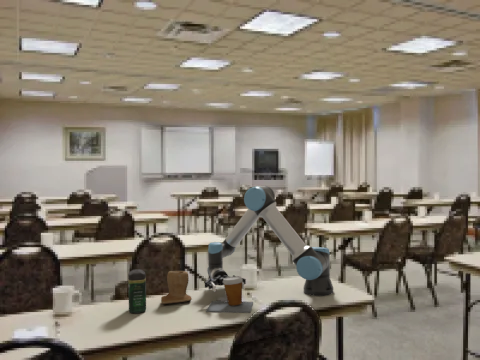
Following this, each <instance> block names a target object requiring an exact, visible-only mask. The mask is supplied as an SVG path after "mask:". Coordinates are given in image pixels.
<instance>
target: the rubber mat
mask: <svg viewBox="0 0 480 360" xmlns="http://www.w3.org/2000/svg"><path fill="white" fill-rule="evenodd" d="M253 305H254V301H242V303H241V304H239V305H229V304H228V300H227V301H226V300H211V302H210V303H209V305H208V306H207V309H206V310H205V312H206V313H243V314H245V313H246V314H248V313H249V314H251V312H252V308H253Z"/></svg>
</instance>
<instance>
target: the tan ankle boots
mask: <svg viewBox="0 0 480 360" xmlns="http://www.w3.org/2000/svg"><path fill="white" fill-rule="evenodd" d="M189 281H190V280H189V273H188V271H185V270H173V271H172V270H171V271H168V273H167V277H166V282H167V287H168V294H166V295H162V296H161V299H160V301H161V305H169V304H177V303H184V302H185V303H186V302H189V301H192V296H190V295H188V294H187V288H188V285H189Z"/></svg>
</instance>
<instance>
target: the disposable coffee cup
mask: <svg viewBox="0 0 480 360" xmlns="http://www.w3.org/2000/svg"><path fill="white" fill-rule="evenodd" d="M232 276H233V275H232ZM232 276H230V277H227V278H224V279H223V284H224V285H223V286H224V291H225V295H226V299H227V301H228V304H229V305H239V304H241V303H242V302H243V289H242V280H243V279H242V278H243V277H242V276H238V275H235V276H233V277H232Z"/></svg>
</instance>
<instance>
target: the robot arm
mask: <svg viewBox="0 0 480 360" xmlns="http://www.w3.org/2000/svg"><path fill="white" fill-rule="evenodd" d="M243 197H244V198H243V202H244V205H245V206H246V208H247V210H246V211H245V213H244V214H243V215H242V216H241V217H240V219H239V220H238V222H237V223H236V224H235V225H234V227H233V228H232V229H231V231H230V232H229V233H228V235H227V236H226V237H225V239H224V240H223V241H222V242H219V241H217V242H216V241H214V242H209V244H208V249H207V254H208V258H207V259H208V267H207V274H208V276H209V277H208V278H207V279H206V280H205V282H204V288H205V289H207V288H208V290H212V291H213V292H216V286H220V287H221V286H224V284H223V279H224V278H227V277H233V276H236V275H232V276H230V275H229V274H228V273H227V272H226V271H225V270H224V267H223V262H224V261H223V260H224V258H225V257H229V256H231V255H232V254H234V252H235V250H236V248H237V246H238V245H239V243H241V241H242V240H243V239H244V237H245V236H246V235H247V233H248V232H249V231H250V230H251V228H252V227H253V226H254V225H255V223H256V222H257V221H258V220H259V218H263V220H264V222H266V224H267V225H268V226H269V228H270V229H271V230H272V232H273V233H274V234H275V236H277V238H278V239H279V241H280V242H281V243H282V244H283V246H285V248H286V250H287V251H288V252H289V254H290V256H292V259H291V260H292V262H293V264H294V265H295V267H296V272H297V274H298V275H299V277H301V278H302V279H303V280H305V282H304V285H303V293H305V294H307V295H310V296H314V297H315V296H316V297H325V296H331V295H332V294H334V286H333V283H332V280H331V276H330V275H331V273H330V272H331V271H330V270H331V269H330V265H331V263H330V259H331V258H330V256H331V253H330V249H329V248H328V247H323V246H322V247H320V246H311V245H307V244H306V243H305V242H304V240H303V239H302V238H301V237H300V235H299V234H298V233H297V232H296V230H295V229H294V228H293V226H291V224H290V223H289V221H288V220H287V219H286V218H285V216H284V215H283V214H282V212H280V210H279V209H278V207H277V201H276V194H275V191H274V190H273V188H271V187H270V186H267V185H260V186H259V185H258V186H257V185H256V186H252V187H250V188H248V189H247V190H246V192H245V194H244V196H243ZM242 279H243V280H242V290H244V289H245V285H246V284H247V281H246V280H247V279H246V278H244V277H242Z"/></svg>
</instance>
